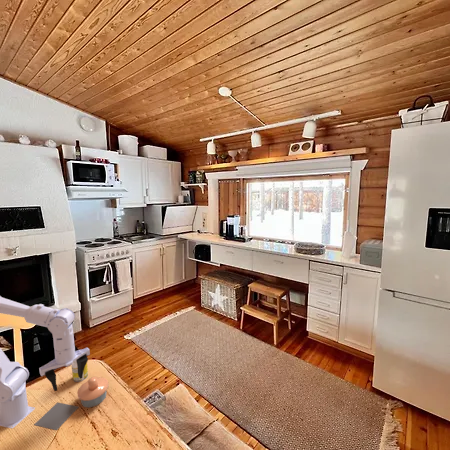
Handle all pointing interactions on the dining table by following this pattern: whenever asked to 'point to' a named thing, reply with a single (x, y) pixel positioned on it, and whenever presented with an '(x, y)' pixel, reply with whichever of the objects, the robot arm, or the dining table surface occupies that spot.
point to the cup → (94, 401)
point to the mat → (56, 416)
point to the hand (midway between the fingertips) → (68, 382)
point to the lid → (92, 388)
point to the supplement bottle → (75, 372)
